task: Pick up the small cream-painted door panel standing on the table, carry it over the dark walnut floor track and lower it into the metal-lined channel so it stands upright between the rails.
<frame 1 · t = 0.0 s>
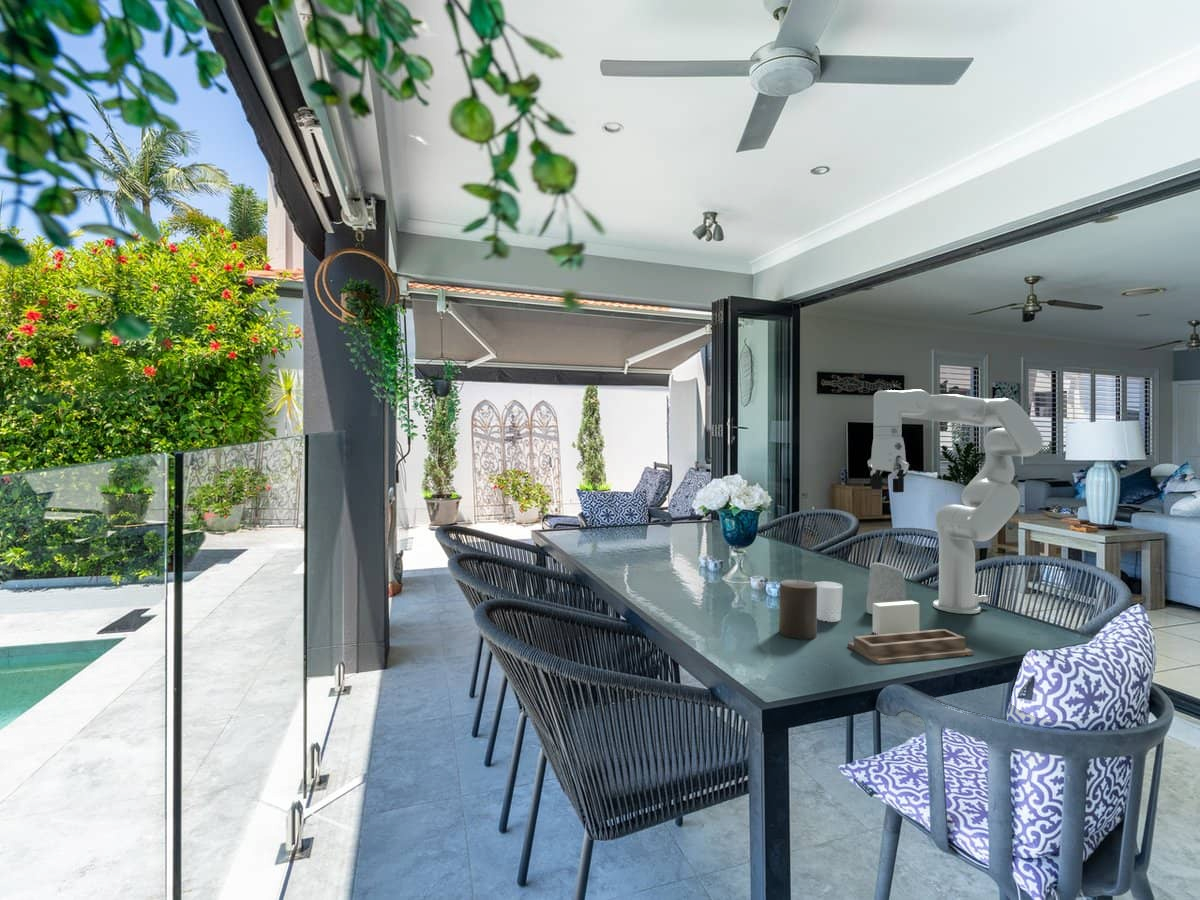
hand: (887, 490, 183), 37 cm above the table, tool pointing down, fingers open, 9 cm apart
pillar candle: (798, 634, 168), on the table
door panel: (895, 632, 168), on the table
decorative stone: (886, 614, 184), on the table
track frame: (909, 650, 154), on the table
white cup: (828, 619, 181), on the table
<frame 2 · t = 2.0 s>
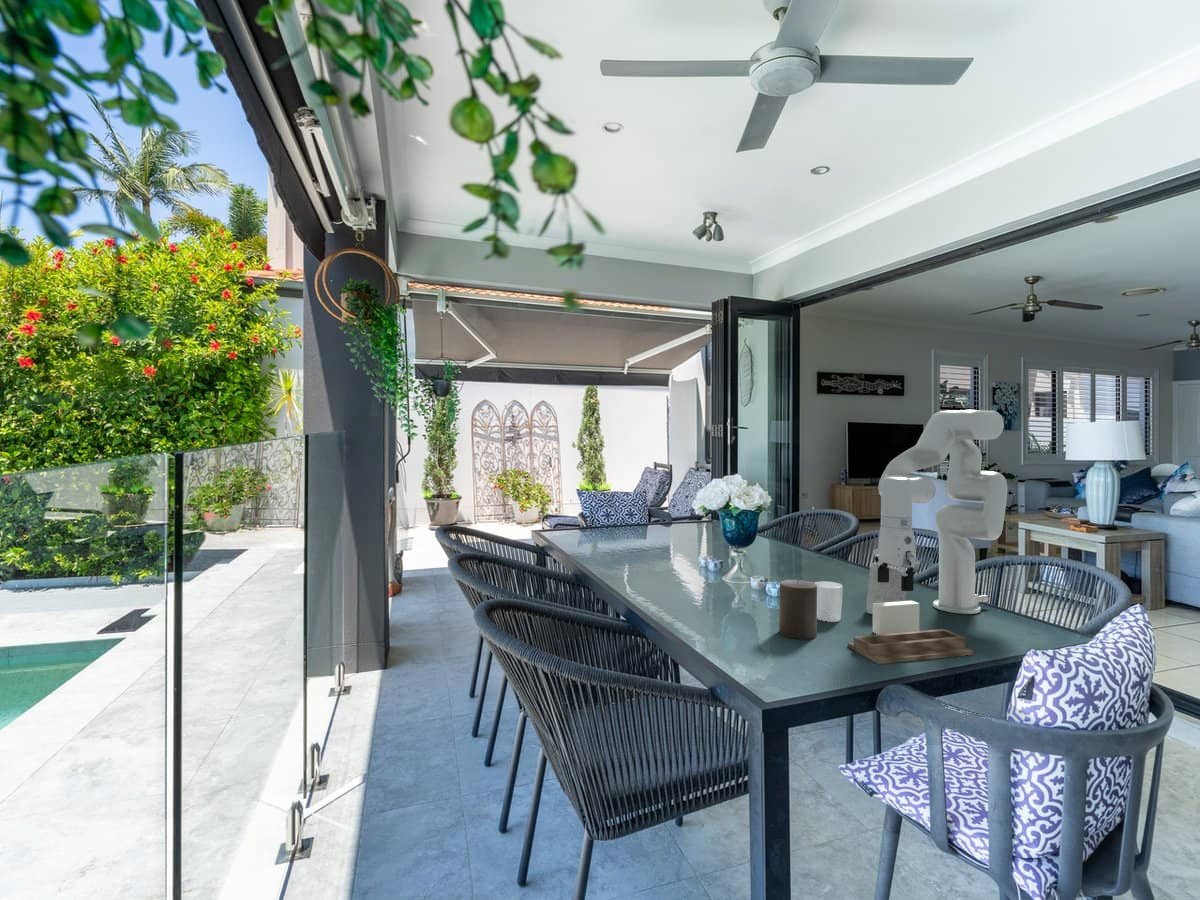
hand: (894, 586, 167), 13 cm above the table, tool pointing down, fingers open, 9 cm apart
nothing on the table moved.
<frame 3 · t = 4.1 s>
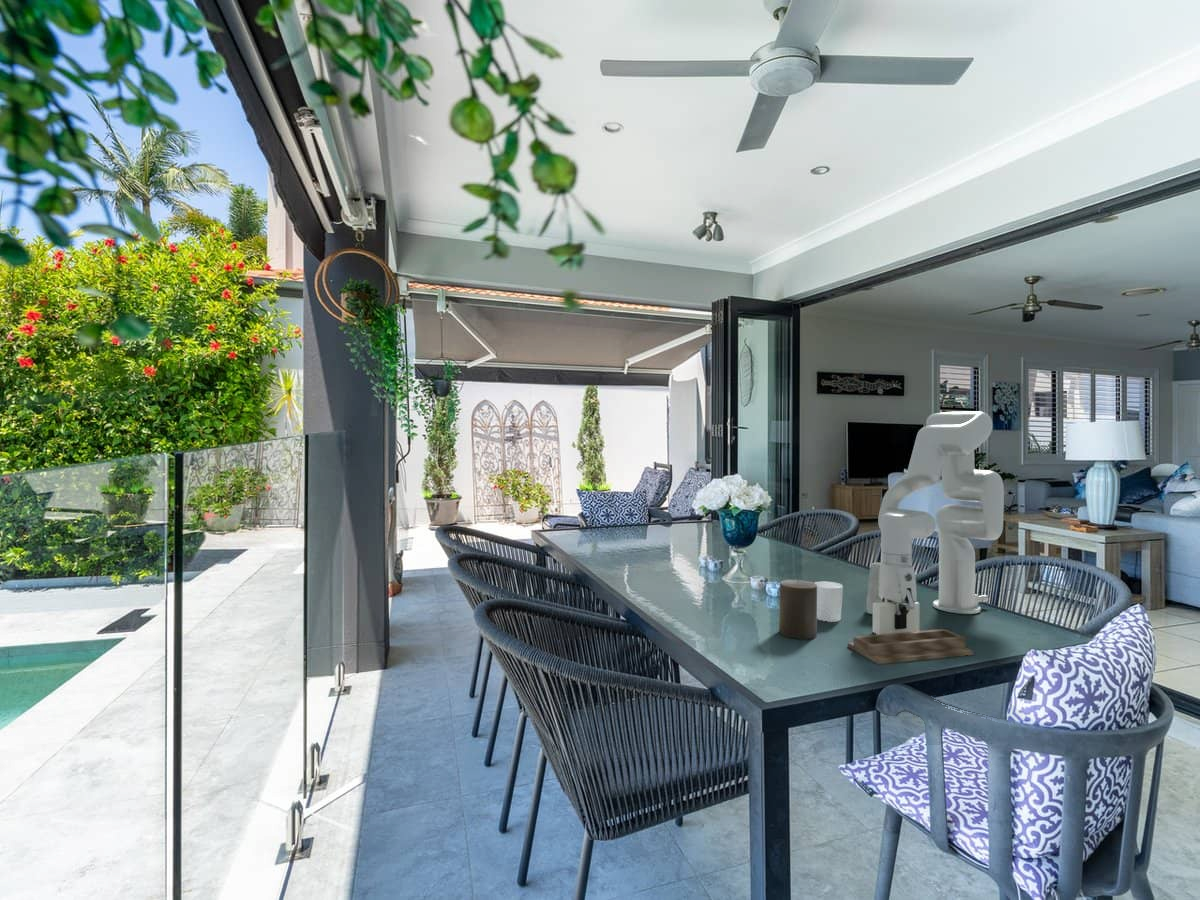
hand: (895, 625, 168), 2 cm above the table, tool pointing down, fingers closed on door panel, 3 cm apart
door panel: (895, 632, 168), on the table, touching gripper
everything else where it was.
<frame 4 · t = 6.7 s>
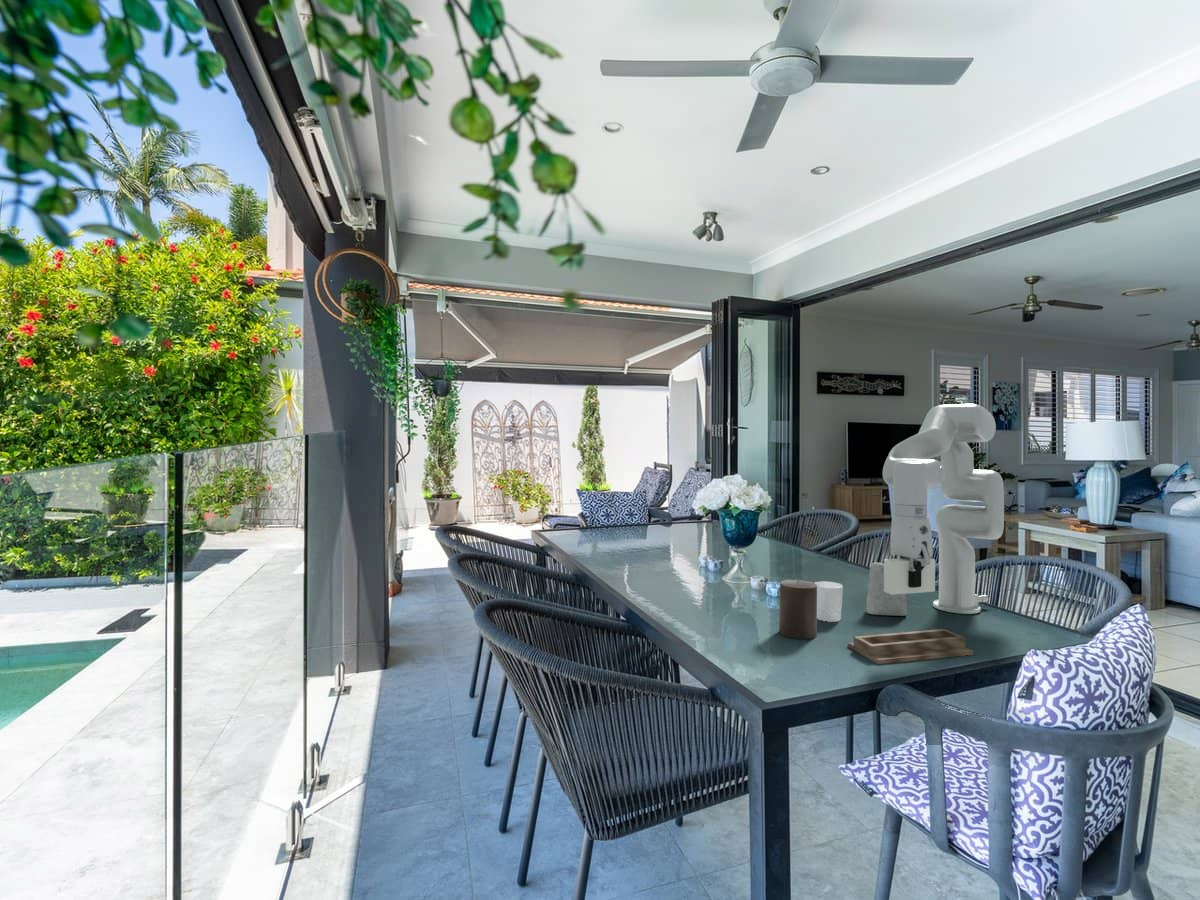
hand: (909, 584, 154), 17 cm above the table, tool pointing down, fingers closed on door panel, 3 cm apart
door panel: (909, 591, 154), point 15 cm above the table, touching gripper
everything else where it was.
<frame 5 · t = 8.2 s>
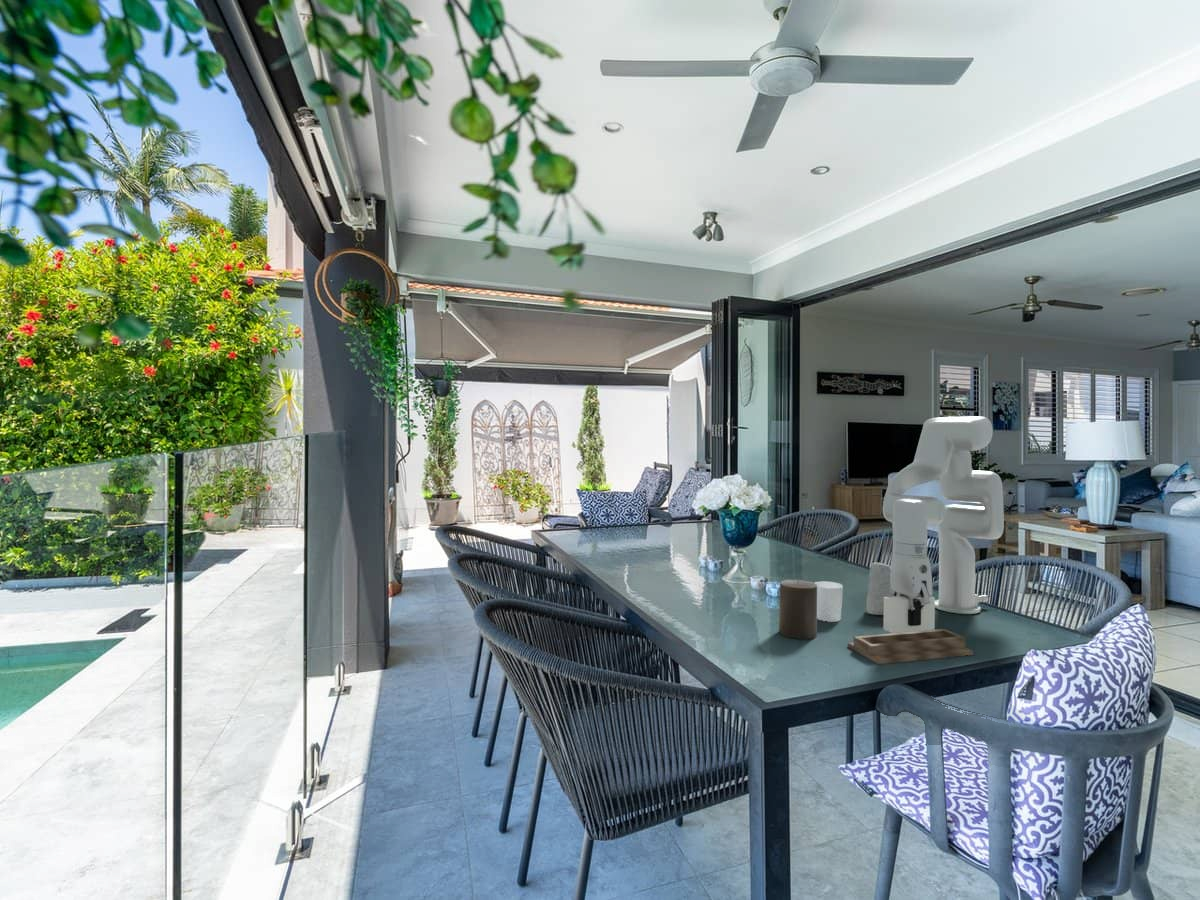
hand: (909, 622, 154), 7 cm above the table, tool pointing down, fingers closed on door panel, 3 cm apart
door panel: (908, 629, 154), point 5 cm above the table, touching gripper
everything else where it was.
when the fingers open (4 cm above the table, at t = 9.5 s): door panel drops 1 cm, resting on track frame.
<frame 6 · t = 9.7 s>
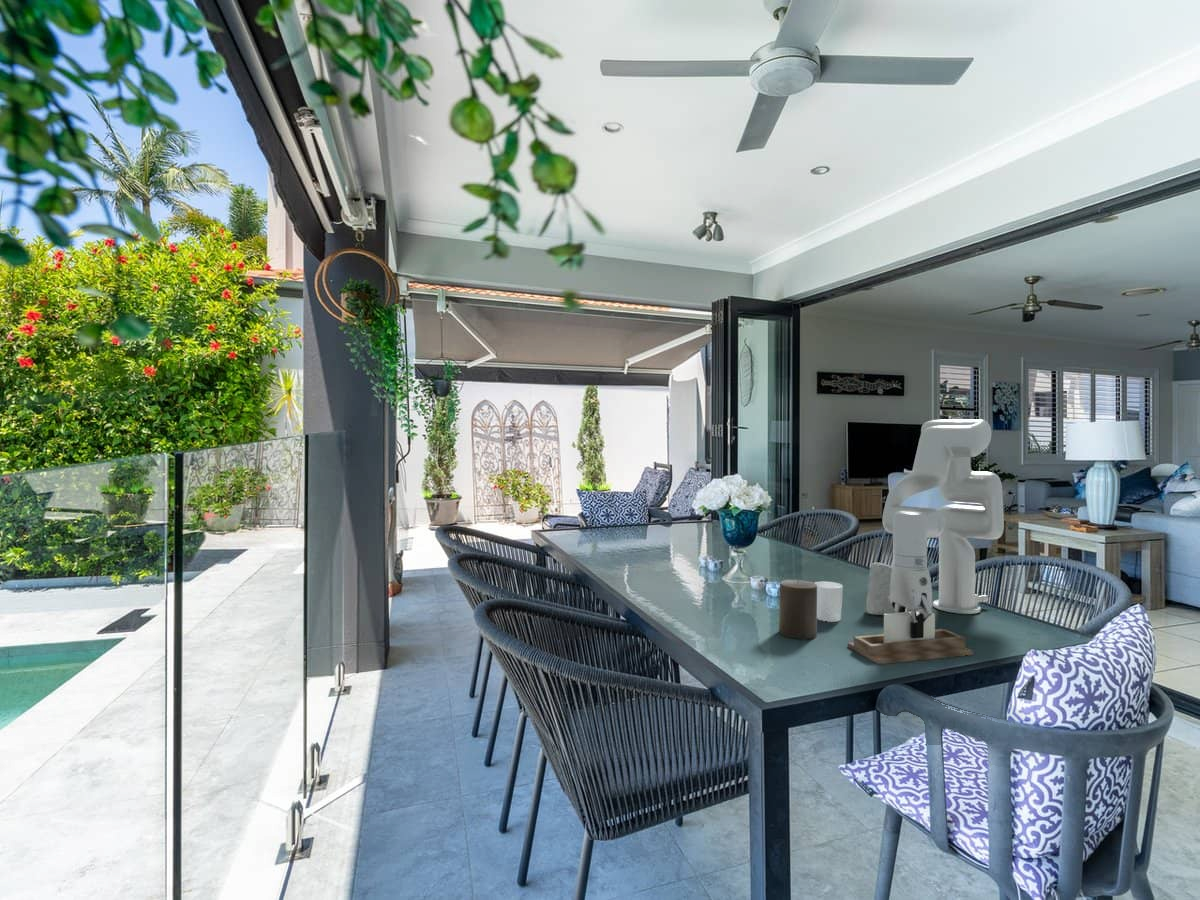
hand: (909, 633, 154), 4 cm above the table, tool pointing down, fingers open, 4 cm apart
door panel: (909, 645, 154), point 1 cm above the table, touching track frame
everything else where it was.
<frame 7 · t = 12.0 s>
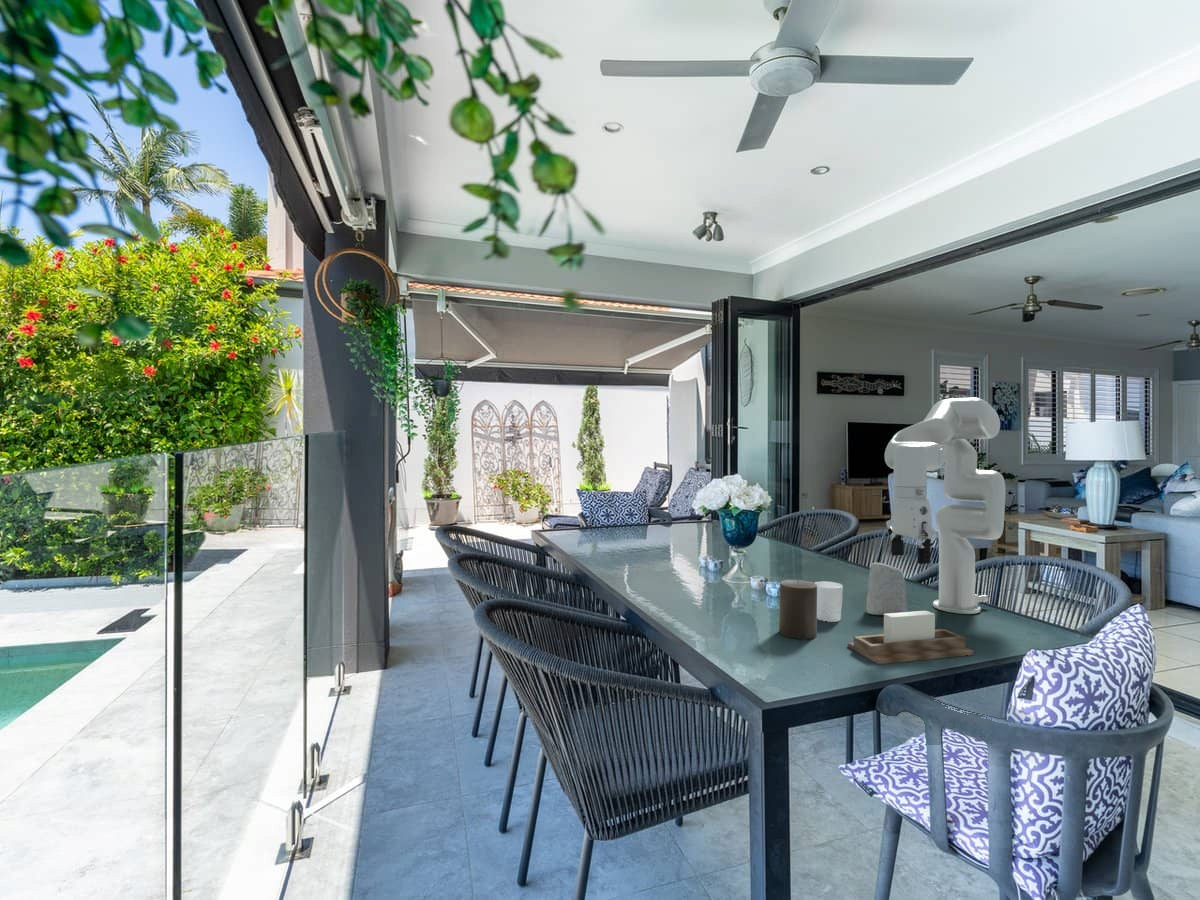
hand: (910, 559, 159), 22 cm above the table, tool pointing down, fingers open, 9 cm apart
nothing on the table moved.
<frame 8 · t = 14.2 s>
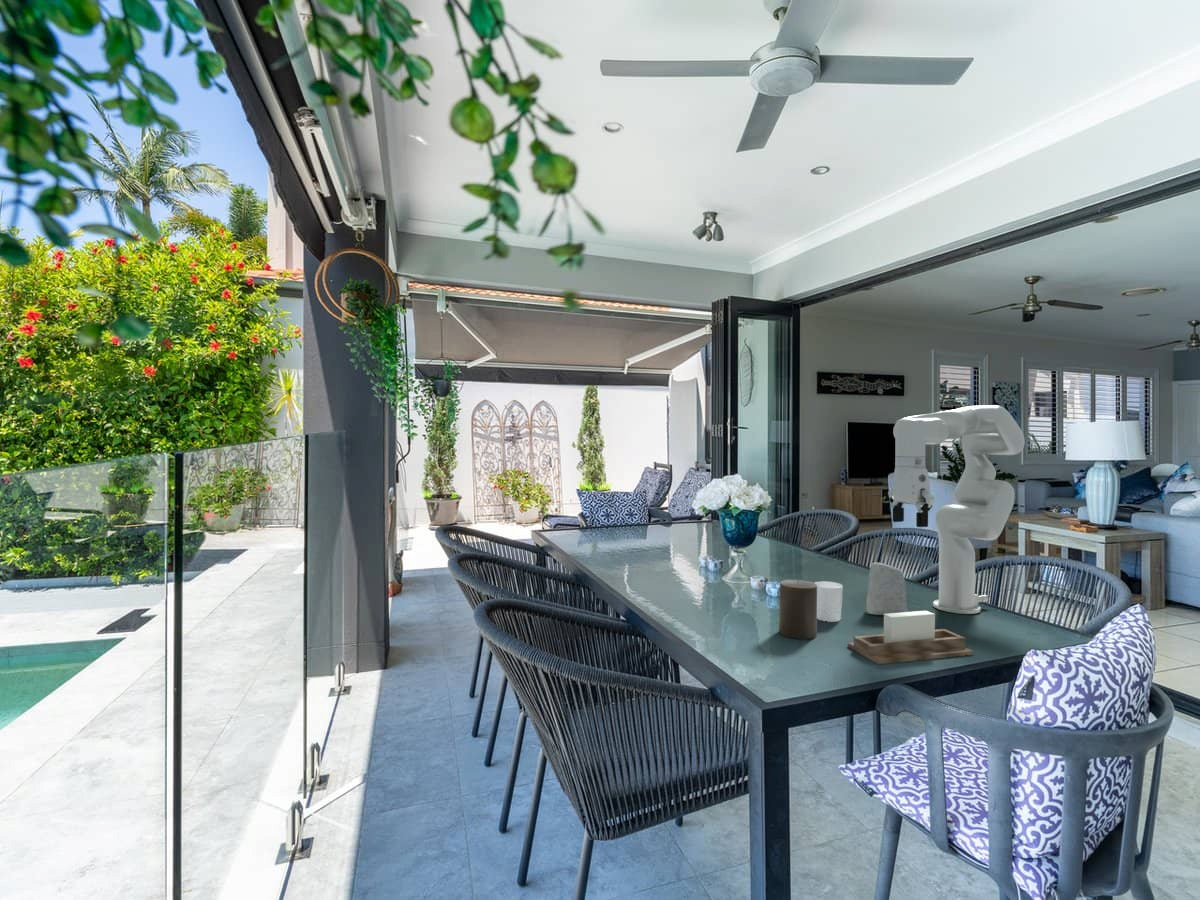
hand: (909, 524, 174), 28 cm above the table, tool pointing down, fingers open, 9 cm apart
nothing on the table moved.
at the end: door panel inside the target area on the track frame (0.1 cm from its centre), point 1.2 cm above the track frame's base; door panel tilted 0°; the gripper is holding nothing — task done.
